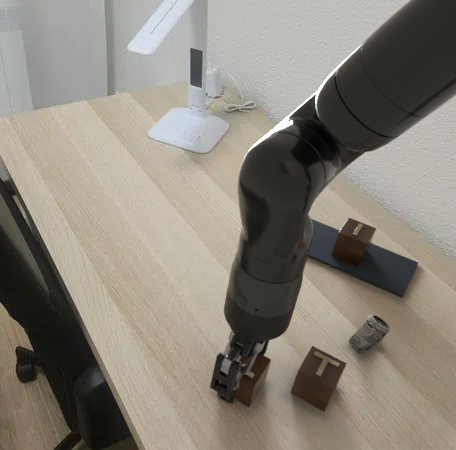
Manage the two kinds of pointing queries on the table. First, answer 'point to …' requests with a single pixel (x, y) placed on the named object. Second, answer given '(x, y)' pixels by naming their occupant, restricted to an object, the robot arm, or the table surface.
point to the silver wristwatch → (369, 333)
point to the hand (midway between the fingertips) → (242, 373)
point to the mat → (364, 262)
